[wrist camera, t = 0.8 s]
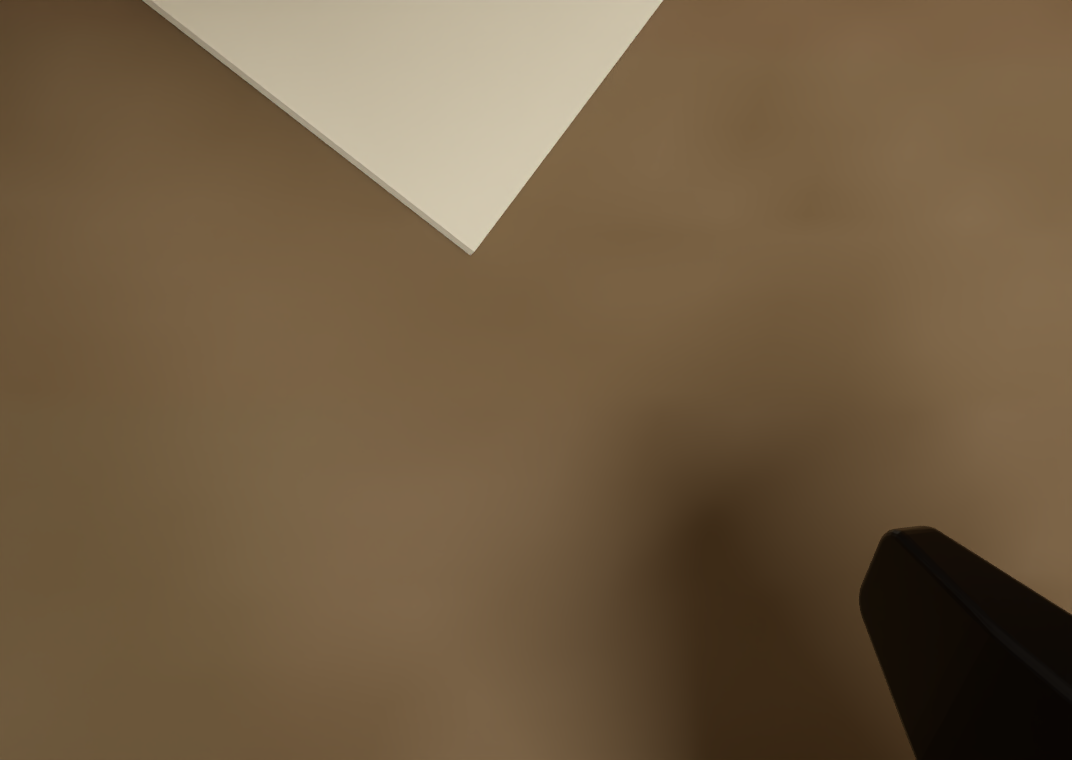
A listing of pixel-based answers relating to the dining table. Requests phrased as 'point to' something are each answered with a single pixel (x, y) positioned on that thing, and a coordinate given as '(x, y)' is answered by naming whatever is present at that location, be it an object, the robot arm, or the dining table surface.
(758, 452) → the dining table surface
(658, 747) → the dining table surface
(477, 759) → the dining table surface
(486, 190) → the mat
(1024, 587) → the robot arm
